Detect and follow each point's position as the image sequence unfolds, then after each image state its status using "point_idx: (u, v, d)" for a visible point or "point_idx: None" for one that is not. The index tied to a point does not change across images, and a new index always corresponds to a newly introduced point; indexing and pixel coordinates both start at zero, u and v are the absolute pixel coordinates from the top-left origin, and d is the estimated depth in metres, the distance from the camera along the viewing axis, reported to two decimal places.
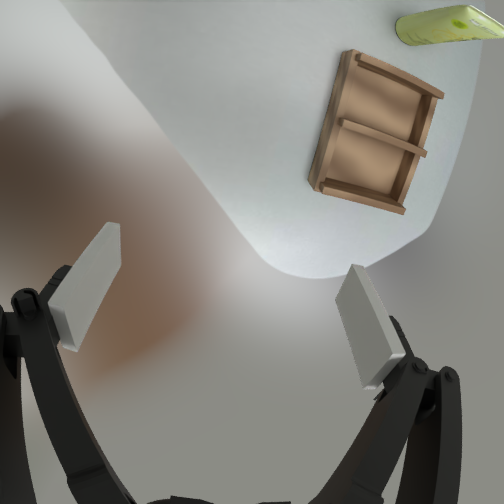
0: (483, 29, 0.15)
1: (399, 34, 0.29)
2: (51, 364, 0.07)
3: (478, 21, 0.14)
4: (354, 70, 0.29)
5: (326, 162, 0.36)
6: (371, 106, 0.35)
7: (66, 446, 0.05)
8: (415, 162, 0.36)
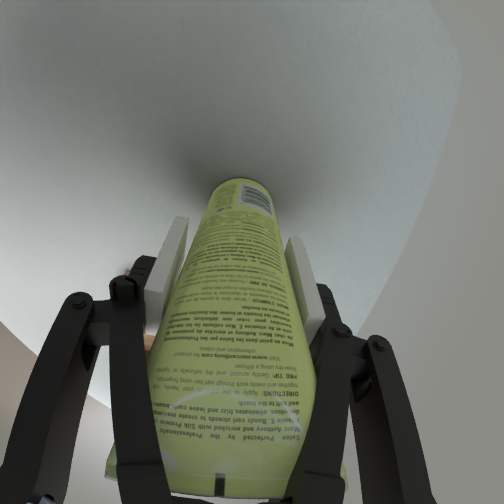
0: None
1: None
2: (137, 353, 0.09)
3: None
4: None
5: None
6: None
7: (127, 433, 0.06)
8: None
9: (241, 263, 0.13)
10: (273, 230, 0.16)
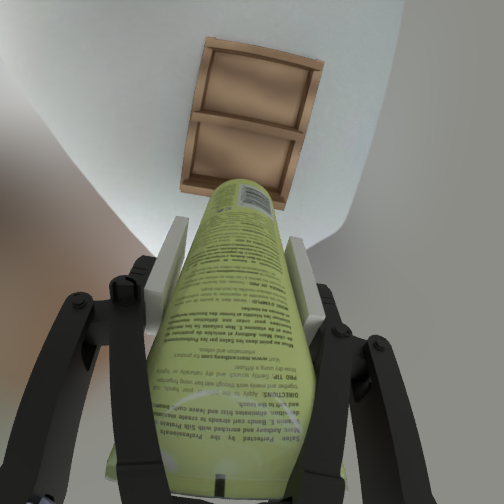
0: None
1: None
2: (137, 353, 0.09)
3: None
4: (208, 58, 0.28)
5: (187, 159, 0.35)
6: (242, 93, 0.33)
7: (127, 433, 0.06)
8: (297, 149, 0.35)
9: (241, 264, 0.13)
10: (273, 231, 0.16)
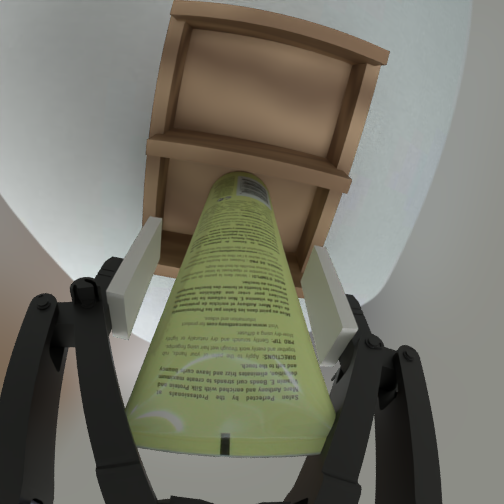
0: None
1: None
2: (103, 355, 0.08)
3: None
4: (177, 38, 0.14)
5: (148, 216, 0.21)
6: (240, 99, 0.19)
7: (102, 436, 0.06)
8: (333, 200, 0.21)
9: (241, 245, 0.14)
10: (270, 217, 0.18)
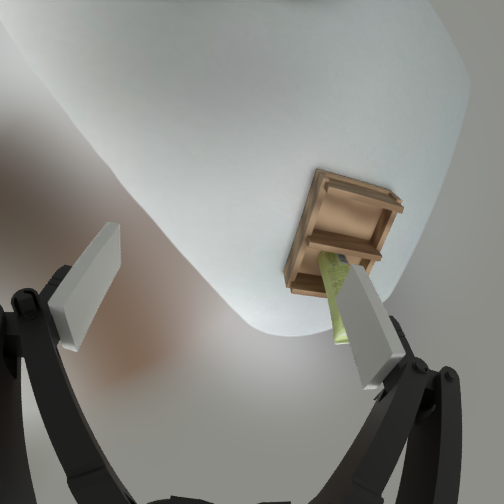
0: None
1: None
2: (51, 364, 0.07)
3: None
4: (322, 196, 0.42)
5: (296, 268, 0.48)
6: (338, 216, 0.47)
7: (66, 446, 0.05)
8: (372, 261, 0.48)
9: None
10: None
